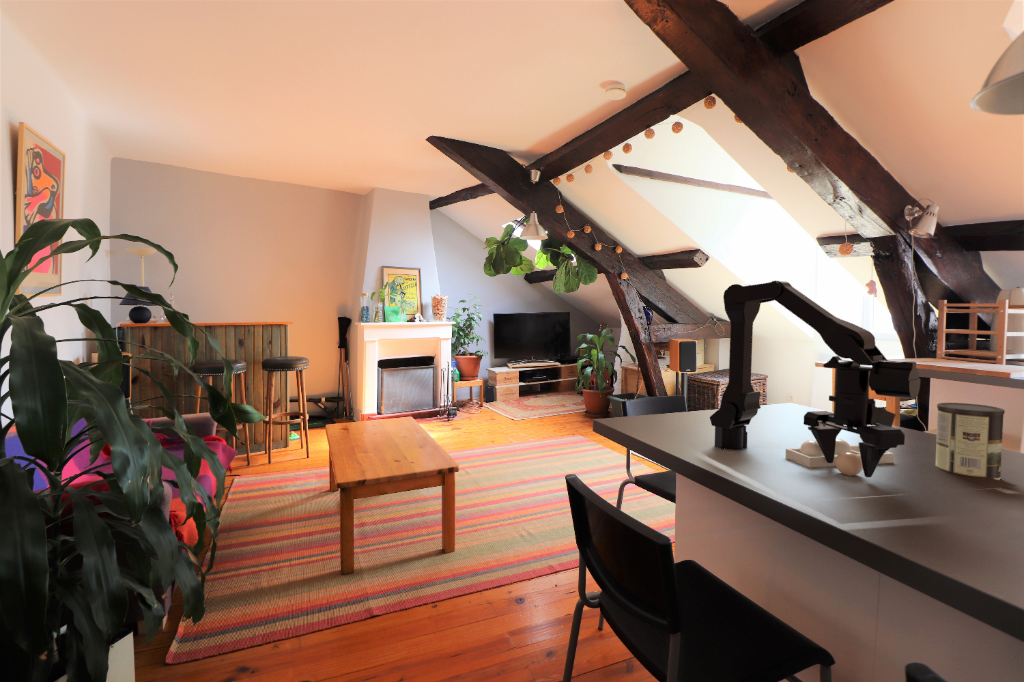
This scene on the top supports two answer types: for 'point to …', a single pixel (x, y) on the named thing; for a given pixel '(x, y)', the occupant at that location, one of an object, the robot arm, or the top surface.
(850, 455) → the brown egg
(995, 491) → the top surface
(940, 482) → the top surface
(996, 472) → the coffee can
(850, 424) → the robot arm
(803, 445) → the cream egg
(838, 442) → the cream egg
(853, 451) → the carton
